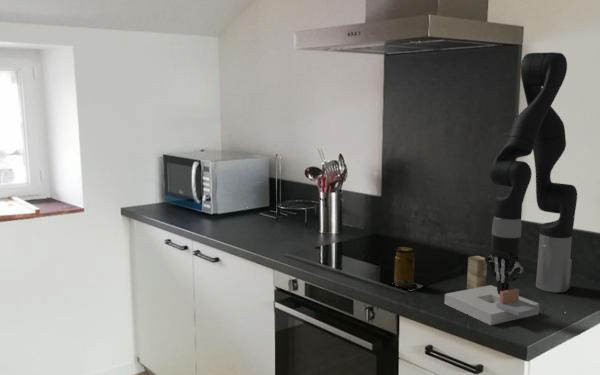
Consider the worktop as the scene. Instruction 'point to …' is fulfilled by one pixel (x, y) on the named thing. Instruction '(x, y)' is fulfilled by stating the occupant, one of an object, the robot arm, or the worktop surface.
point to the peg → (476, 272)
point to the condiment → (405, 268)
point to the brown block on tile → (515, 303)
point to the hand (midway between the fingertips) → (502, 294)
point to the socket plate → (483, 304)
